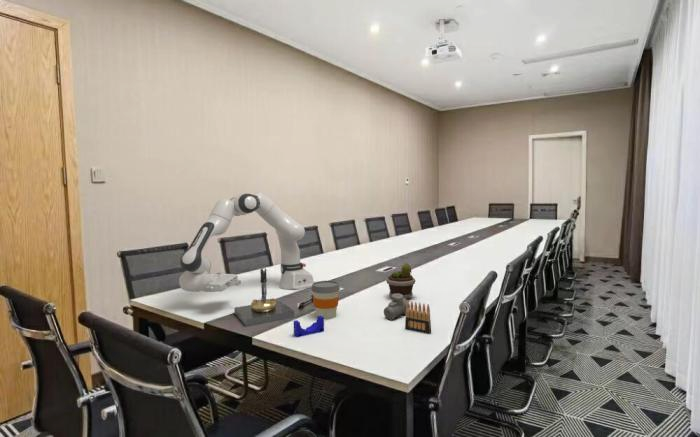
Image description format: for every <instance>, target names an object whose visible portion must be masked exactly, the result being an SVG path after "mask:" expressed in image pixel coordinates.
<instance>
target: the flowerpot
mask: <svg viewBox="0 0 700 437" xmlns="http://www.w3.org/2000/svg"><path fill="white" fill-rule="evenodd" d="M412 272H413V268H412V266H411V265H410V263H408V262H406V263H403V264H402V266H401V269H397V270H394V271H392V273H391V275H388V277H387V278H386V280H385V282H386V284H387V285H388V288H389V296H390V297H391V298H392V295H393V294H396V293H398V294H402V295H403V298H405V299H407V301H409V300H410V299H412V297H413V295H414V294H413V287H414V285H415V283H416V279H415V278H414V277H413V275H412Z"/></svg>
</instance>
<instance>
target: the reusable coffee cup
mask: <svg viewBox="0 0 700 437" xmlns="http://www.w3.org/2000/svg"><path fill="white" fill-rule="evenodd" d="M311 291H312V302H313V307H314V309H315V310H314V311H315V316H316V317H317V316H322V317H324V320H331V319H334V318H336V316H337V310H338V305H339V298H340V295H339V292H340V283H339V282H338V281H335V280H319V281H315V283H313V284H312V286H311Z"/></svg>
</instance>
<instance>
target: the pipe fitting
mask: <svg viewBox="0 0 700 437" xmlns="http://www.w3.org/2000/svg"><path fill="white" fill-rule="evenodd" d="M391 299H392V300H391V301H389V303H388V304H387V306H385V307H384V309H383V316H384V317H385V318H386V319H388V320H394V319H395V318H397V317H398V316H400V315H401V316H402V315H404V316H405V315H406V307H407V301H408V300H407V299H405V298H403V295H402V294H398V293H396V294H393V295H392V297H391ZM410 305H411V303H409V307H410Z"/></svg>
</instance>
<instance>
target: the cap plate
mask: <svg viewBox="0 0 700 437" xmlns="http://www.w3.org/2000/svg"><path fill="white" fill-rule="evenodd" d="M275 301H276V308H275V309H274V310H271V311H267V312H254V311H252V310H251V304H248V305H244V306H243V305H242V306H236V307H234V308H233V310H234V311H233V312H234V316H236V317H237V318H238V320H240V321H241V323H242V324H243V325H244V326H245V327H249V326H250V327H251V326H256V325H261V324H266V323H272V322H276V321H281V320H287V319H292V318H295V310H294V309H293V308H291V307H290V306H288V305H286V304H285V303H284V302H282V301H281V300H275Z"/></svg>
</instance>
